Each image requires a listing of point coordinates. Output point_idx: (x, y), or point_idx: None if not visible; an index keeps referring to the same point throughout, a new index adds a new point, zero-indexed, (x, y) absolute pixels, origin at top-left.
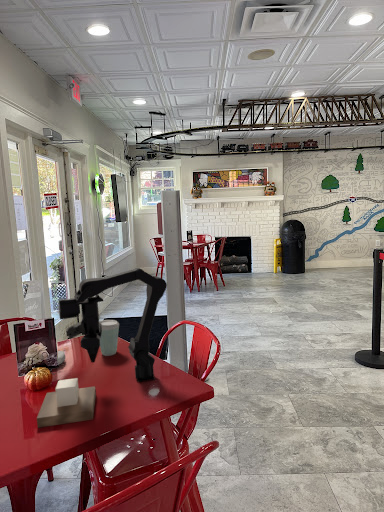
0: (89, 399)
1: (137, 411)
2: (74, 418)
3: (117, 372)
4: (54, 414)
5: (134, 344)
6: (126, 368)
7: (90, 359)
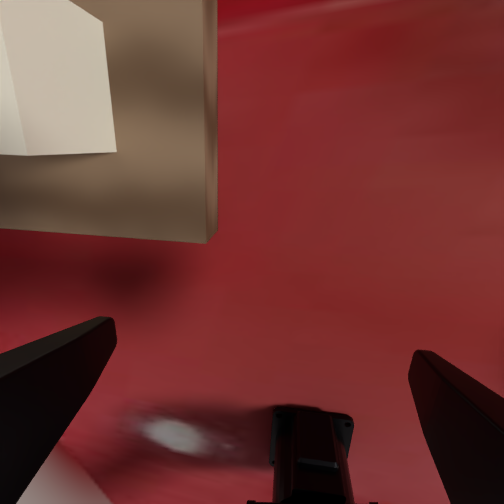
0: (61, 212)
1: None
2: None
3: (438, 346)
4: None
5: None
6: None
7: (56, 333)
